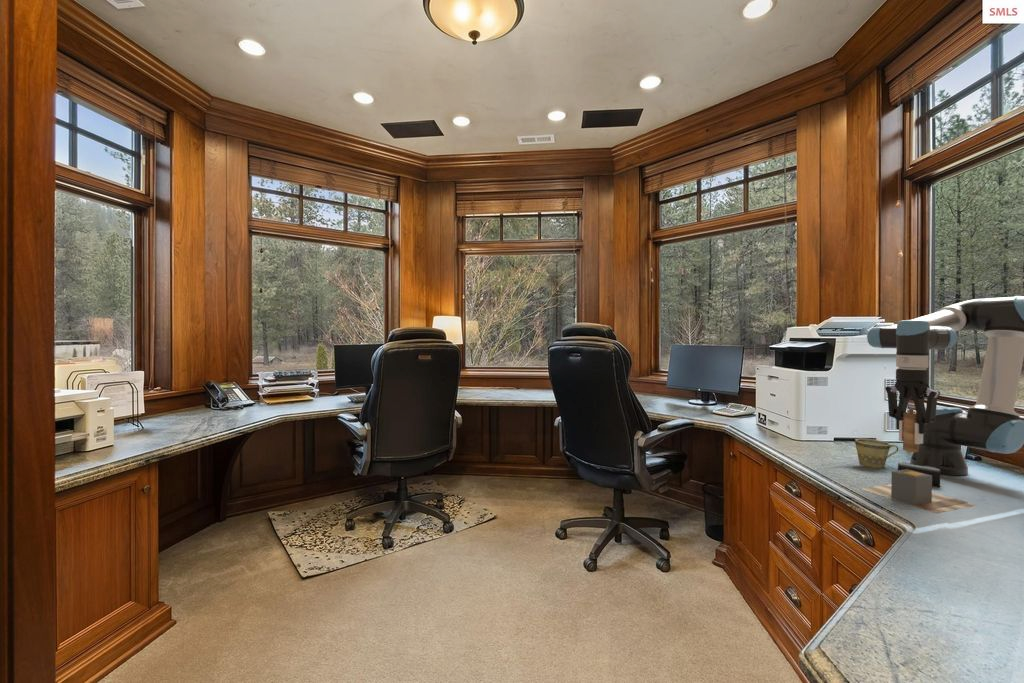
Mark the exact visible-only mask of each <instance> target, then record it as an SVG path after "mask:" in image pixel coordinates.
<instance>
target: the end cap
mask: <svg viewBox="0 0 1024 683" xmlns="http://www.w3.org/2000/svg"><path fill="white" fill-rule="evenodd" d="M905 469H909V470H913V471H916V472H920V473H924V474H928V475H932V487H937V488H940V487H941V473H940V469H937V468H935V467H929V466H919V465H913V464H911V463H909V462H898V464H897V471H898V470H905Z"/></svg>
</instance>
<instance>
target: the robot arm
mask: <svg viewBox="0 0 1024 683" xmlns="http://www.w3.org/2000/svg"><path fill="white" fill-rule="evenodd" d="M959 331H982V332H983V335H984V336H985V337H987V338H988V340H987V341H988V342H987V347H986V352H985V356H984V360H983V365H982V367H983V368H982V371H981V377H980V383H979V387H978V393H977V397H976V398H977V399H976V403H975V404H974V405H971V406H969V407H968V411H967V412H966V413H965V412H964V410H963V408H961V407H954V406H953V407H950V406H949V407H947V406H946V407H945V406H943V407H942V406H938V407H937V404H938V398H939V397H940V395H941V391H938V390H934V389H932V388H930V386H929V383H928V382H929V370H928V368H929V363H930V362H929V360H930V359H929V358H930V357H929V354H930V352H929V350H939V351H941V350H946V349H950V348H953V347H955V345H957V342H958V340H959V339H958V338H959V337H958V334H957V332H959ZM866 339H867V340H866V341H867V343H868V345H869V346H870V347H872V348H876V349H878V348H879V349H895V350H896V354H895V366H896V367H897V368H896V369H895V379H896V382H895V383H894V385H892V386H885V391H886V393H887V404H888V417H891V418H894V419H895V428H896V430H898V441H899V442H903V412H907V410H908V406H909V401H910V400H911V399H912V402H913V404H914V409H915V413H916V414H917V420H918V422H917V423H915V443H914V444H919V452H912V455H911V457H910V461H909V462H910V463H911V464H913V465H919V466H929V467H935V468H937V469H940V474H941V473H943V475H949V474H950V475H951V476H966V475H968V474H969V466H968V465H967V464H968V463H967V462H966V460H965V457H964V455H963V452H962V447H967V448H972V449H978V450H983V451H988V452H991V453H999V454H1005V455H1006V454H1008V455H1009V454H1013V453H1017V451H1019V450H1020V449H1021V448H1022V447H1023V445H1024V421H1022V420H1020V417H1021V416H1020V415H1019V413H1018V412H1016V411H1015V406H1016V405H1015V404H1016V400H1017V395H1018V389H1019V385H1020V384H1019V383H1020V379H1021V374H1022V373H1021V372H1022V368H1023V364H1024V296H1021V295H1015V296H1006V297H1005V296H1004V297H1003V296H1002V297H990V298H989V297H988V298H974V299H970V300H964V301H960V302H957V303H953V304H950V305H948V306H947V305H946V306H944V307H943V306H942V307H941V308H939V309H937V310H936V311H935V312H933V313H930V314H927V315H923V316H919V317H916V318H914V319H913V318H912V319H906V320H904V319H903V320H899V321H897V324H892V325H890V326H875V327H872V328H870V329H869V330H868V332H867V335H866ZM897 392H899V394H898V393H897ZM924 395H926V396H927V399H926V407H925V396H924ZM898 400H899V401H898Z"/></svg>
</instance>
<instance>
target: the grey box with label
mask: <svg viewBox="0 0 1024 683" xmlns="http://www.w3.org/2000/svg"><path fill="white" fill-rule="evenodd" d="M890 484H891V498H893V499H896V500H895V501H897V500H899V501H898V502H900V501H902V502H901V503H903V502H905V503H904V504H906V503H908V504H907V505H909V504H912V505H921V504H926V503H932V493H933V492H932V491H933V486H932V475H928V474H924V473H920V472H916V471H913V470H909V469H905V470H898V469H897V470H891V483H890ZM893 499H892V500H893ZM912 505H911V506H912Z"/></svg>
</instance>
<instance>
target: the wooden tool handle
mask: <svg viewBox="0 0 1024 683" xmlns="http://www.w3.org/2000/svg"><path fill="white" fill-rule="evenodd" d="M917 422H918V420H917V414H916V412H914V408H913V407H909V408H908V411H906V412H903V441H902V450H903V451H904V452H910V453H914V452H919V444H914V443H915V423H917Z"/></svg>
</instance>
